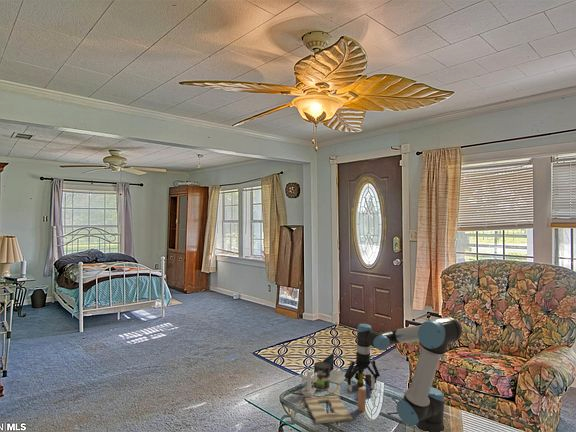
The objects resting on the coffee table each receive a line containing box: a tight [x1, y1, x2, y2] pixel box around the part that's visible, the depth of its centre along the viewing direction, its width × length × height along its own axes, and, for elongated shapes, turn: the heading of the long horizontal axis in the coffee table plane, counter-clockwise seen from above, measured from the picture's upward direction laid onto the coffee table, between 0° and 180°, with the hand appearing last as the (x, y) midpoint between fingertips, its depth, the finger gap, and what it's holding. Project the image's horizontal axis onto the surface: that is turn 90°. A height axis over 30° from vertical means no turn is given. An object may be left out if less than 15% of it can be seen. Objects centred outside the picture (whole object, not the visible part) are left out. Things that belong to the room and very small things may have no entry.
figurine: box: [301, 369, 317, 398], centre depth 227 cm, size 7×9×15 cm
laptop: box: [322, 352, 346, 385], centre depth 254 cm, size 18×12×13 cm
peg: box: [357, 386, 367, 413], centre depth 213 cm, size 4×4×12 cm
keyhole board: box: [304, 395, 354, 425], centre depth 212 cm, size 24×20×2 cm
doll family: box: [352, 369, 374, 398], centre depth 236 cm, size 23×9×13 cm, turn 23°
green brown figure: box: [312, 361, 331, 392], centre depth 239 cm, size 10×10×14 cm
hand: (361, 389), depth 213 cm, fingers open, 13 cm apart
